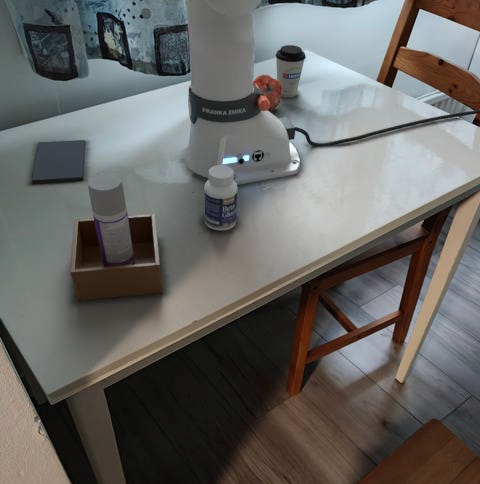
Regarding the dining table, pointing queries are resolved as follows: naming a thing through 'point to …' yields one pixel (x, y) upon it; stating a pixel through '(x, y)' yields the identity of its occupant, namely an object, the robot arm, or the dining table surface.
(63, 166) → the pad
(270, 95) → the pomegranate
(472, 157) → the dining table surface
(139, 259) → the wooden tray
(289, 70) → the coffee cup
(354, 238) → the dining table surface
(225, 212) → the pill bottle
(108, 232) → the container
